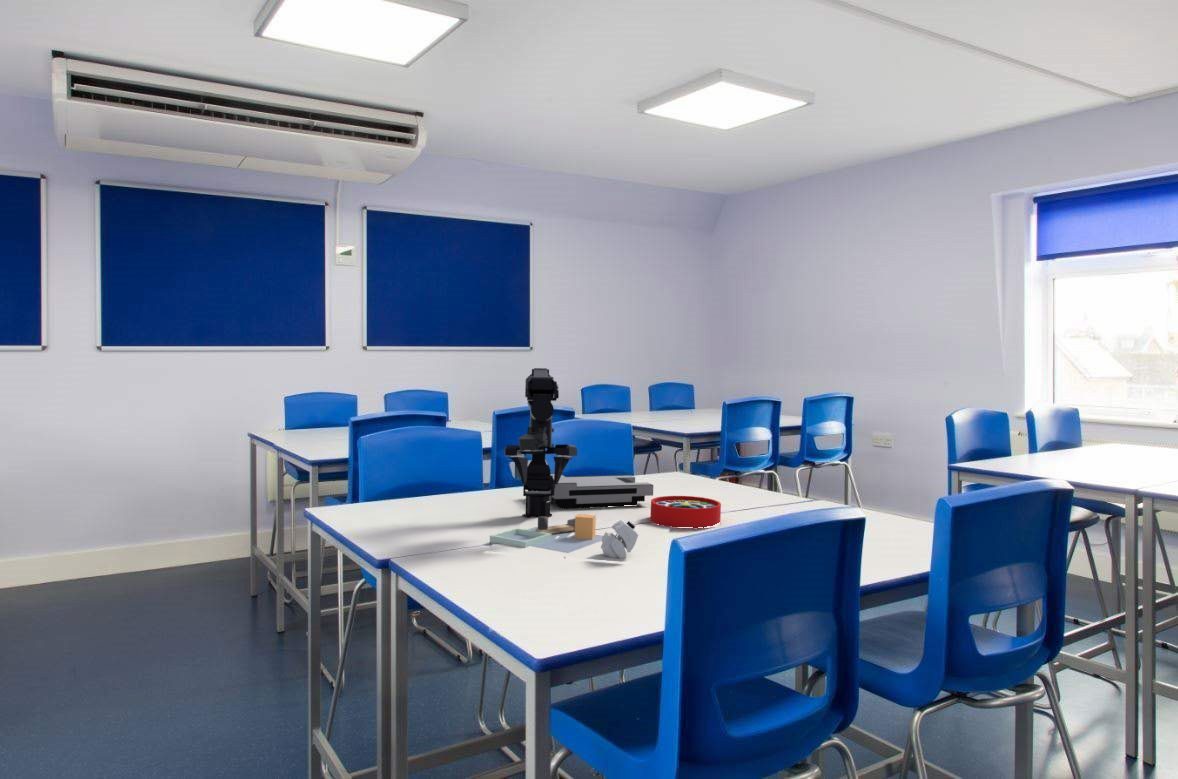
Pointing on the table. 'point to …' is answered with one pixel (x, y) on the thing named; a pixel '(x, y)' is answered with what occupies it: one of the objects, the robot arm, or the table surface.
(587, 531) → the block
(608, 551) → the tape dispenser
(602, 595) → the table surface
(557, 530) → the crank
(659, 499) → the toy clock
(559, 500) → the office tray
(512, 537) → the crank base
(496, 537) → the tray
